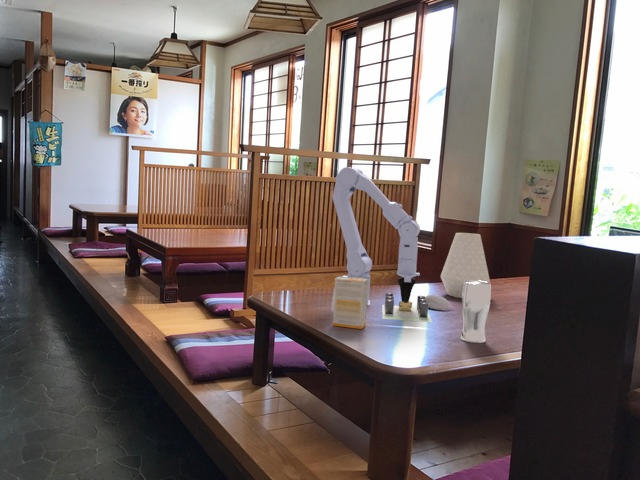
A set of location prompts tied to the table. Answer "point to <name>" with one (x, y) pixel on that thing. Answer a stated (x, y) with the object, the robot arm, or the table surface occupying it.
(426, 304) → the spacers
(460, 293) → the vase
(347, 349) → the table surface
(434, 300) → the seashell
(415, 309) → the field mat
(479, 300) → the beer glass
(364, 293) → the supplement box
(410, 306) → the brass knob
